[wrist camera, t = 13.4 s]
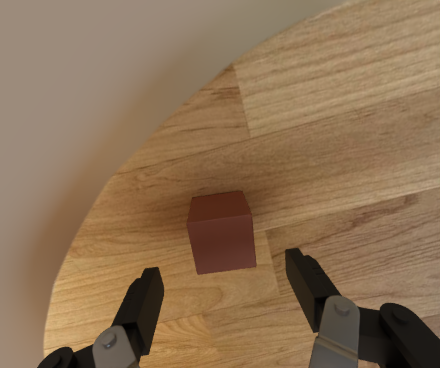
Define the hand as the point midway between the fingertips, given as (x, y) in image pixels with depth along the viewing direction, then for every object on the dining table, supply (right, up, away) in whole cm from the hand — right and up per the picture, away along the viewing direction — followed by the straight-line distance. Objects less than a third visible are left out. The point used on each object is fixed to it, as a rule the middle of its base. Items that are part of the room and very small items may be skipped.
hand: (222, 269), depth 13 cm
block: (0, +2, +6) cm, 7 cm away
